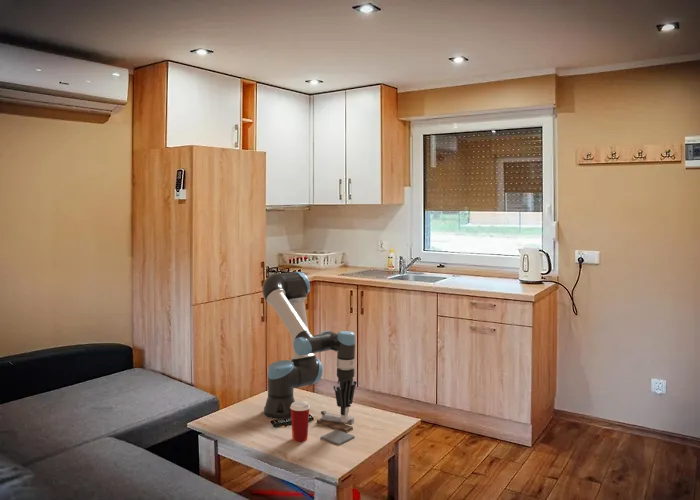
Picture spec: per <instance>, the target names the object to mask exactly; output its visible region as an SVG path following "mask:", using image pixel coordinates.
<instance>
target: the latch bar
mask: <svg viewBox="0 0 700 500" xmlns="http://www.w3.org/2000/svg"><path fill="white" fill-rule="evenodd" d="M320 414H321V418H322V420H325V421H331V422H336V423H342V424H346V425H349V426H352V425H354V423H355V417H354V416H350V415H348V422H346V423H345V422H342V421H341V414H338V413H331V412H327V411H326V410H322V411H320Z"/></svg>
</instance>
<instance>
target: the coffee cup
mask: <svg viewBox="0 0 700 500" xmlns="http://www.w3.org/2000/svg"><path fill="white" fill-rule="evenodd" d="M290 408H291V417H290V419H291V433H292V441H293V442H295V443H305V442H306V441H308V435H309V420H310V418H309V417H310V409H311V405H310V402H308V401H306V400H305V401H304V400H296V401H295V402H293V403H292V404H291V406H290Z"/></svg>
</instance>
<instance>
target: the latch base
mask: <svg viewBox="0 0 700 500" xmlns="http://www.w3.org/2000/svg"><path fill="white" fill-rule="evenodd" d="M316 423H317V424H320V425H323V426H325V427H326V426H327V427H328V428H332V429H335V430H339V431H342V432H345V433H347V434H348V432H350V431H352V430H353V431H354V429H353V428H354V427H353V426H352V425H348V424H342V423H336V422H331V421H325V420H322V417H319V418H317V419H316Z"/></svg>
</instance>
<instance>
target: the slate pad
mask: <svg viewBox="0 0 700 500" xmlns="http://www.w3.org/2000/svg"><path fill="white" fill-rule="evenodd" d="M353 439H355V435H353V434H351V433H350V434H349V433H348V432H347V433H346V432H343V431H340V430H337V429H335V430H332V431H330V432H328V433H325V434H323V435H322V436H320V440H323V441H326V442H328V443H331V444H334V445H337V446H341V445H343V444H345V443H347V442H349V441H351V440H353Z"/></svg>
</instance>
